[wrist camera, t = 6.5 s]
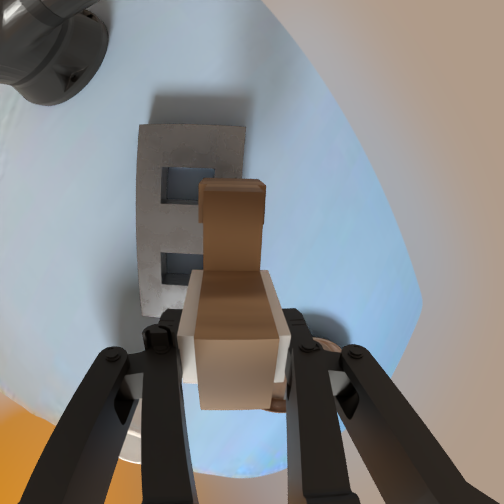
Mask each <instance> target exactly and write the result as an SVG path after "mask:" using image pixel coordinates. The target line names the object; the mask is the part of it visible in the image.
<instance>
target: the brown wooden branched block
mask: <svg viewBox="0 0 504 504" xmlns="http://www.w3.org/2000/svg"><path fill="white" fill-rule="evenodd" d="M265 197H266V185H265V184H264V183H262V182H261V181H260V180H259V179H238V178H203V179H202V180H201V182H200V183H199V201H198V223H203V269H204V271H203V277H202V284H201V290H200V297H199V304H198V311H197V319H196V326H195V334H194V348H195V360H196V371H197V381H198V390H199V399H200V407H201V410H252V409H270V405H271V398H272V392H273V385H274V378H275V370H276V363H277V356H278V348H279V340H280V338H279V335H278V331H277V328H276V325H275V321H274V318H273V314H272V311H271V307H270V304H269V301H268V297H267V294H266V290H265V287H264V283H263V280H262V277H261V273H260V261H261V245H262V229H263V224H264V214H265Z"/></svg>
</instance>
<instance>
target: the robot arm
mask: <svg viewBox="0 0 504 504" xmlns="http://www.w3.org/2000/svg"><path fill="white" fill-rule="evenodd" d="M98 1H100V0H0V83H1V84H7V85H11V86H13V87H14V88H15V89H16V90H17V91H18V92H19V93H20V94H21V95H22V96H23V97H24V98H25V99H26V100H28V101H29V102H31V103H34V104H38V105H44V106H52V105H57V104H60V103H63V102H65V101H67V100H69V99H70V98H72V97H73V96H75V95H76V94H77V93H79V92H80V91H81V90H82V89H83V88H84V87H85V86H86V85H87V84H88V83H89V81H90V80H91V79H92V78H93V76H94V75H95V74H96V72H97V70H98V69H99V67H100V65H101V63H102V61H103V59H104V56H105V53H106V49H107V43H108V34H107V29H106V27H105V25H104V23H103V22H102V21H101V20H100V19H99V18H98V17H97V16H96V15H95V14H94V13H92V12H90V11H88V10H84V9H86V8H88V7H89V6H91V5H93V4H94V3H96V2H98ZM203 271H204V270H192V272H191V276H190V280H189V284H188V289H187V293H186V297H185V302H184V306H183V309H166V310H165V311H164V312H163V313H162V314H161V317H160V321H159V324H154V325H151V326H148V327H147V328H145V329H144V331H143V333H142V335H143V340H144V345H145V351H143V352H140V353H135V354H127V352H126V350H124V349H123V348H121V347H113V346H112V347H108V348H105V349H104V350H102V351H101V352H100V353H99V354H98V356H97V357H96V359H95V361H94V362H93V364H92V365H91V367H90V369H89V370H88V372H87V374H86V375H85V377H84V378H83V380H82V382H81V383H80V385H79V387H78V388H77V390H76V392H75V394H74V395H73V397H72V399H71V400H70V402H69V404H68V406H67V407H66V409H65V411H64V413H63V414H62V416H61V418H60V420H59V422H58V424H57V425H56V427H55V429H54V431H53V433H52V435H51V437H50V439H49V440H48V442H47V444H46V446H45V448H44V450H43V452H42V454H41V456H40V458H39V460H38V462H37V464H36V466H35V469H34V471H33V473H32V475H31V477H30V479H29V482H28V484H27V486H26V488H25V491H24V493H23V495H22V497H21V500H20V502H19V503H18V504H104V502H105V499H106V495H107V492H108V489H109V486H110V483H111V479H112V476H113V473H114V470H115V467H116V464H117V461H118V458H119V455H120V452H121V449H122V447H123V444H124V441H125V438H126V435H127V432H128V429H129V427H130V424H131V421H132V418H133V416H134V413H135V410H136V408H137V405H138V402H139V399H140V398H142V409H141V473H142V474H141V475H142V494H143V501H142V504H199V502H198V498H197V492H196V487H195V481H194V475H193V469H192V463H191V456H190V449H189V442H188V435H187V427H186V418H185V409H184V400H183V390H182V384H181V383H182V378H183V383H191V384H198V381H197V371H196V360H195V348H194V334H195V326H196V319H197V311H198V304H199V297H200V290H201V284H202V277H203ZM260 273H261V277H262V280H263V283H264V287H265V290H266V294H267V297H268V301H269V304H270V307H271V311H272V314H273V318H274V321H275V325H276V328H277V331H278V335H279V338H280V340H279V348H278V356H277V363H276V370H275V378H274V383H277V382H284V377H285V376H286V379H287V383H286V389H285V394H284V399H283V400H286V420H287V462H288V504H360V500H359V497H358V496H357V494H355V493H353V492H352V491H351V489H350V483H349V477H348V471H347V465H346V459H345V453H344V448H343V442H342V436H341V431H340V426H339V420H338V415H337V412H338V414H339V416H340V418H341V420H342V422H343V424H344V426H345V427H346V429H347V431H348V433H349V435H350V437H351V439H352V441H353V443H354V444H355V446H356V448H357V450H358V452H359V454H360V456H361V457H362V460H363V461H364V463H365V465H366V467H367V469H368V471H369V473H370V475H371V477H372V478H373V480H374V482H375V484H376V486H377V488H378V490H379V492H380V494H381V496H382V497H383V499H384V501H385V503H386V504H499V503H498V502H496V501H495V500H493V499H491V498H490V497H488V496H487V495H485V494H484V493H482V492H481V491H479V490H478V489H476V488H474V487H473V486H472V485H470V484H469V483H467V482H466V481H465V479H464V478H463V476H462V475H461V473H460V472H459V471H458V469H457V468H456V466H455V465H454V464H453V462H452V461H451V459H450V458H449V457H448V455H447V454H446V452H445V451H444V450H443V448H442V447H441V445H440V444H439V443H438V441H437V440H436V439H435V437H434V436H433V435H432V433H431V432H430V430H429V429H428V428H427V426H426V425H425V424H424V422H423V421H422V420H421V418H420V417H419V416H418V414H417V413H416V412H415V411H414V409H413V408H412V406H411V405H410V404H409V403H408V401H407V400H406V399H405V397H404V396H403V395H402V394H401V392H400V391H399V389H398V388H397V387H396V386H395V384H394V383H393V382H392V380H391V379H390V378H389V376H388V375H387V374H386V372H385V371H384V370H383V369H382V367H381V366H380V365H379V364H378V362H377V361H376V360H375V358H374V357H373V356H372V355H371V353H370V352H369V351H368V350H367V349H366V348H364V347H362V346H360V345H355V344H352V345H347V346H344V347H343V348H342V351H341V352H333V351H327V350H324V349H323V347H322V345H321V344H320V343H319V342H317V341H315V340H313V338H312V336H311V333H310V331H309V329H308V327H307V325H306V322H305V320H304V318H303V316H302V313H300V312H299V311H298V310H297V309H296V308H290V309H282V308H281V305H280V302H279V300H278V297H277V294H276V291H275V288H274V285H273V283H272V280H271V277H270V274H269V271H268V270H260Z"/></svg>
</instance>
